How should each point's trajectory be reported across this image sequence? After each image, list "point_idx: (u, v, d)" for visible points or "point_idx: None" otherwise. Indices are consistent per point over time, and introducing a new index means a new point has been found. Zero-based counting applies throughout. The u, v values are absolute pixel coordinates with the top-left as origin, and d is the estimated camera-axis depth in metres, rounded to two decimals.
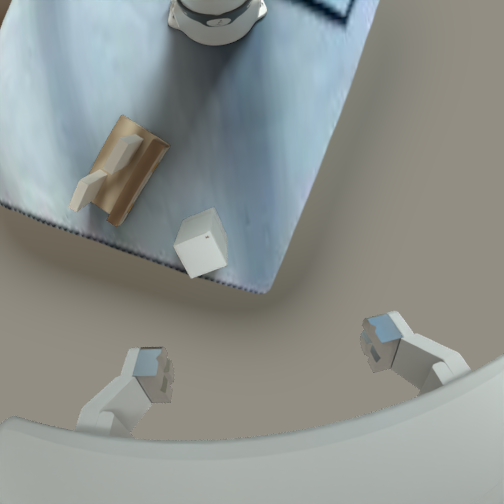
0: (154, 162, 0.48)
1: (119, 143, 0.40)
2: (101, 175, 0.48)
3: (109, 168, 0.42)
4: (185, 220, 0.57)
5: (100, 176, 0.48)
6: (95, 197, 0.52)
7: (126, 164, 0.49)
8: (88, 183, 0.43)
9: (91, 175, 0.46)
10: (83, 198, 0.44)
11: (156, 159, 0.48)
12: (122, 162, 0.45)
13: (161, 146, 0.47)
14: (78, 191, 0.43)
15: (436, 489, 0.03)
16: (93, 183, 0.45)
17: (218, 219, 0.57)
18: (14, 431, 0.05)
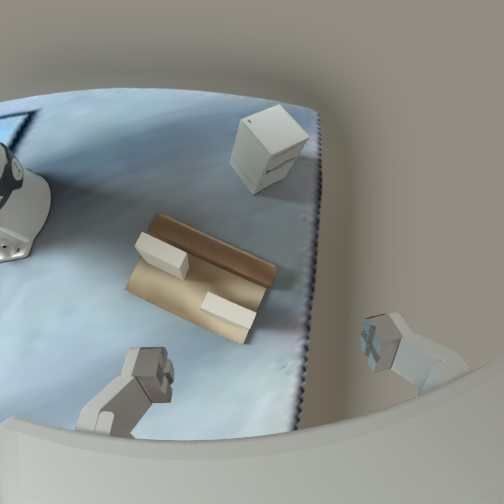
0: (178, 223, 0.40)
1: (141, 245, 0.32)
2: None
3: (178, 256, 0.32)
4: (251, 187, 0.46)
5: None
6: None
7: None
8: (206, 294, 0.32)
9: None
10: None
11: (173, 221, 0.40)
12: None
13: (156, 217, 0.39)
14: (220, 309, 0.32)
15: (436, 489, 0.03)
16: None
17: None
18: (14, 431, 0.05)
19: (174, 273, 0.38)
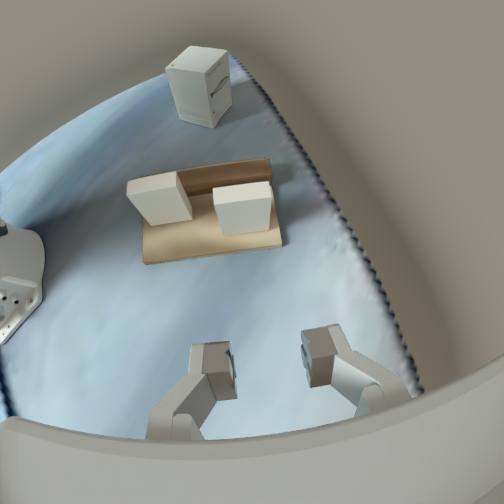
0: None
1: (132, 190, 0.30)
2: None
3: (169, 178, 0.30)
4: (208, 121, 0.44)
5: None
6: None
7: None
8: None
9: None
10: None
11: None
12: None
13: None
14: (233, 195, 0.30)
15: (436, 489, 0.03)
16: None
17: None
18: (14, 431, 0.05)
19: (179, 212, 0.36)
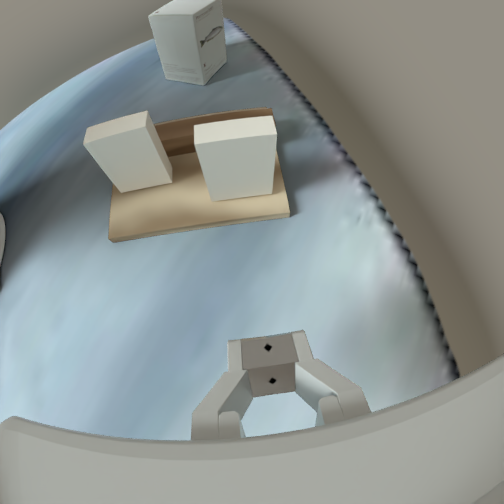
0: None
1: (91, 137, 0.20)
2: None
3: (138, 118, 0.21)
4: (197, 77, 0.34)
5: None
6: None
7: None
8: None
9: None
10: None
11: None
12: None
13: None
14: (222, 132, 0.20)
15: (436, 489, 0.03)
16: None
17: None
18: (14, 431, 0.05)
19: (153, 170, 0.26)
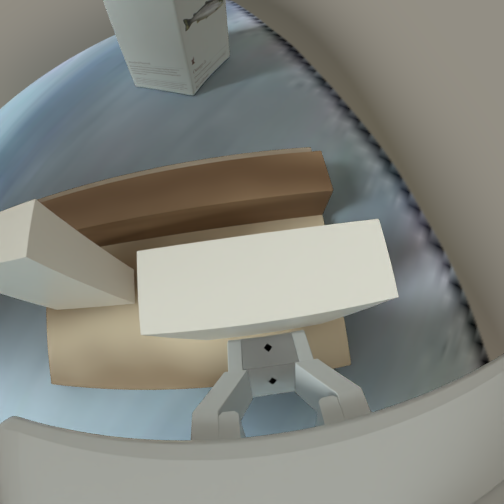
0: (66, 194, 0.15)
1: None
2: None
3: (17, 225, 0.07)
4: (182, 81, 0.21)
5: None
6: None
7: None
8: None
9: None
10: None
11: (58, 196, 0.15)
12: None
13: None
14: (228, 293, 0.06)
15: (436, 489, 0.03)
16: None
17: None
18: (14, 431, 0.05)
19: (93, 297, 0.13)
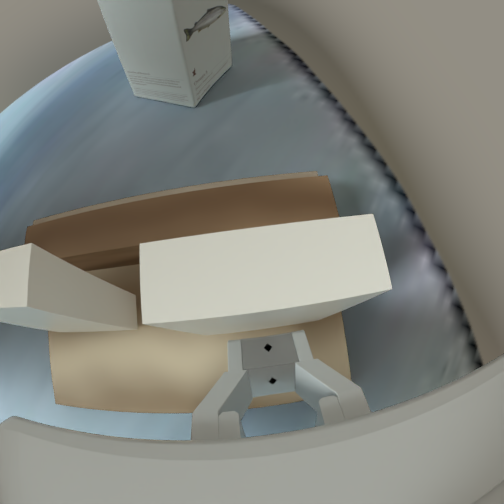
0: (64, 216, 0.15)
1: None
2: None
3: (15, 270, 0.07)
4: (182, 93, 0.21)
5: None
6: None
7: None
8: None
9: None
10: None
11: (56, 218, 0.14)
12: None
13: (28, 232, 0.14)
14: (227, 284, 0.06)
15: (436, 489, 0.03)
16: None
17: None
18: (14, 431, 0.05)
19: (95, 326, 0.12)
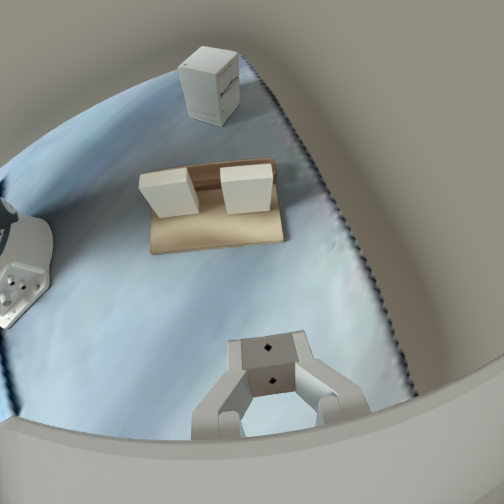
0: (169, 169, 0.40)
1: (144, 183, 0.32)
2: None
3: (180, 173, 0.32)
4: (216, 120, 0.46)
5: None
6: None
7: None
8: None
9: None
10: None
11: None
12: None
13: None
14: (238, 175, 0.32)
15: (436, 489, 0.03)
16: None
17: None
18: (14, 431, 0.05)
19: (187, 206, 0.38)
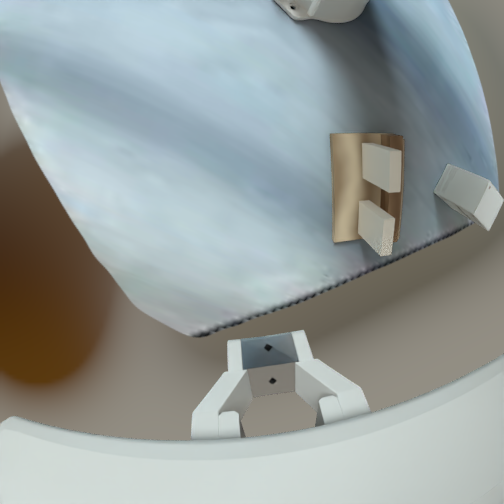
0: (402, 156, 0.40)
1: (392, 156, 0.34)
2: (372, 204, 0.44)
3: (395, 187, 0.36)
4: (439, 190, 0.46)
5: (375, 205, 0.44)
6: None
7: None
8: (391, 217, 0.39)
9: (373, 210, 0.42)
10: None
11: (403, 152, 0.40)
12: None
13: (400, 137, 0.39)
14: (386, 232, 0.39)
15: (436, 489, 0.03)
16: None
17: None
18: (14, 431, 0.05)
19: (369, 174, 0.41)
